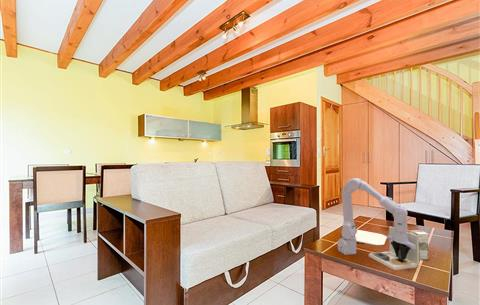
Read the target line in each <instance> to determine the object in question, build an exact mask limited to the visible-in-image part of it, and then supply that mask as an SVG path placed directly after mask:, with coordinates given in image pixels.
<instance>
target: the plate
mask: <svg viewBox="0 0 480 305" xmlns="http://www.w3.org/2000/svg"><path fill="white" fill-rule="evenodd" d="M342 237H343V236H341V238H342ZM355 237H356V243H358V242H359V244H363V243H364V244H365V245H372V246H385V243H386V241H387V240H388V239H387V235H384V234H382V233H377V232H371V231H366V230H361V229H357V233H356V235H355ZM364 244H363V245H364Z"/></svg>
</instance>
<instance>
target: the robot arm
mask: <svg viewBox="0 0 480 305" xmlns="http://www.w3.org/2000/svg"><path fill="white" fill-rule="evenodd" d="M357 190H359V191H361V192H365V193H367V194H369V196H371V197H373V198H374V199H375V200H377V201H378V203H379V205H380V206H381V207H382V208H383V209H385V210H386V211H387V212H389V213H390V214H392V217H393V219H394V220H393V227H394V236H391V235H389V234H388V235H386V237H387V239H386V240H389V239H390V240H393V241H392V242H391V245H392V246H393V248H394V251H395V254H396V257H398V248H400V252H401V259H402V260H404V259H406V256H407V254H408V252H409V250H410V249H416V245H415V244H413V243H411V242H409V241H408V237H407V232H408V219H407V217H408V215H409V214H408V211H407V209H406V208H405V207H404V206H402V205H401V204H398V203H396V202H395V201H394V200H393V198H392V197H389V196H384V195H382V194H381V193H379V192H378V191H377V190H376V189H375V188H373V187H372V186H371V185H370V184H369V183H367V182H366V181H365V180H362V178H360V177H354V178H351V179H349V180H347V181H346V182H345V185H344V186H343V188H342V190H341V200H342V211H343V212H342V214H343V224H342V229H341V232H340V233H341V235H342V236H343V237H342V236H341V238H339V239H338V241H337V250H338V252H339V253H341V254H343V255H346V256H347V255H356V254H357V242H356V237H355V235H356V233H357V230H358V229H357V226H356V224H355V222H354V213H353V212H354V211H353V198H352V194H354V192H356V191H357Z"/></svg>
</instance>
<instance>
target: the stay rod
mask: <svg viewBox="0 0 480 305" xmlns="http://www.w3.org/2000/svg"><path fill="white" fill-rule="evenodd" d="M398 261H399V262H401V263H402V262H404V260H402V259H401V252H400V248H398Z"/></svg>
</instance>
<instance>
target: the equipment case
mask: <svg viewBox="0 0 480 305" xmlns="http://www.w3.org/2000/svg"><path fill="white" fill-rule="evenodd" d="M388 235H391V236H394V226H389V227H388ZM407 237H408V241H409V242H411V243H413V244H415V245H416V249H410V250H409V252H408V254H407V256H406V259H404V262H402V263H401V262H399V261H398V257H396V254H395V251H394V248H393V246H392V245H391V242H392V241H393V240H390V239H388V241H389V247H388V248H389V249H388V250H389V251H382V252H381V251H379V252H373V253H372V252H371V253H368V257H369V258H371V259H373V260H374V261H376V262H378V263H380V264H382V265H384V266H386V267H388V268H389V269H391V270H394V271H400V270H407V269H414V268H418V265H419V264H420V259H419V236H418V235H415V234H412V233H411V232H408V231H407Z"/></svg>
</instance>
